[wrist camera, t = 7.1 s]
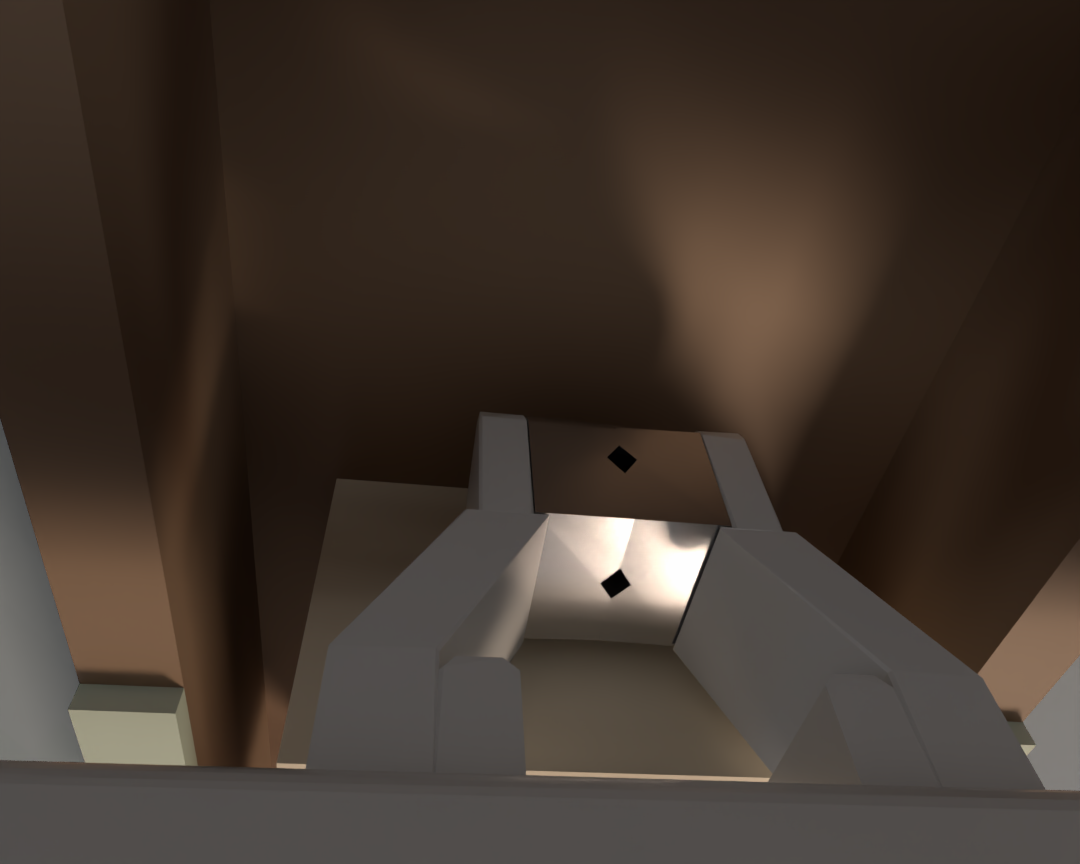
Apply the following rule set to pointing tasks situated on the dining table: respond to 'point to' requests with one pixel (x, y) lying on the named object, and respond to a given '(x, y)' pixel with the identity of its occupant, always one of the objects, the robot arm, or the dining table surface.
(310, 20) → the walled channel
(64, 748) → the dining table surface
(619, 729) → the birch block
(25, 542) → the dining table surface
